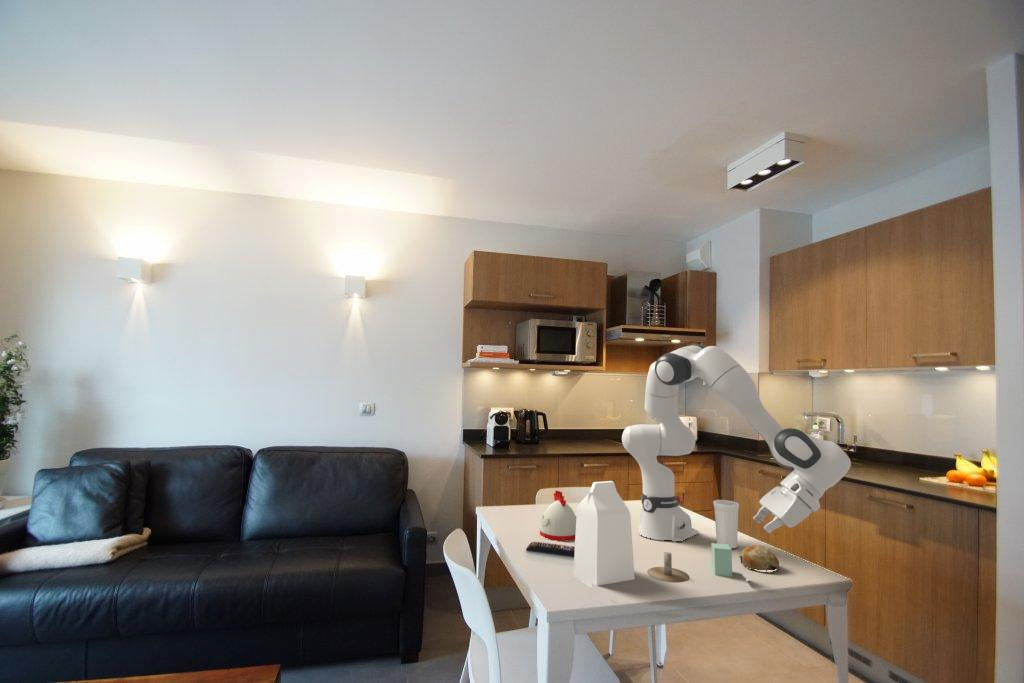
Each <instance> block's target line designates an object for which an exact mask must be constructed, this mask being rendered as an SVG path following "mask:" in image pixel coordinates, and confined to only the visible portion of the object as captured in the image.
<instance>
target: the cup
mask: <svg viewBox="0 0 1024 683" xmlns="http://www.w3.org/2000/svg"><path fill="white" fill-rule="evenodd" d="M712 503H713V507H714V521H715V522H714V524H715V535H716V536H715V537H716V544H728V545H729V547H730V548H731V549H735V548H738V538H739V537H738V531H739V530H738V529H739V509H740V504H739V502H737V501H733V500H728V499H727V500H726V499H715V500H713V501H712Z"/></svg>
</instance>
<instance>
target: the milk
mask: <svg viewBox="0 0 1024 683" xmlns="http://www.w3.org/2000/svg"><path fill="white" fill-rule="evenodd" d="M616 487H617V486H616V484H615V482H614V481H612V480H606V481H594V482H592V484H591V486H590V490H589V492H588V493H587V494H586V495H585V497H584V498H583V499H582V500H581V501H580V502H579V504H578V505H577V507H576V515H575V516H576V534H575V540H574V558H573V577H574V578H576V579H577V580H579V582H582V584H584V585H586V586H587V587H589V588H590V589H592V586H593V585H594V586H596V587H597V586H604V585H609V584H610V585H611V584H613V583H614V584H616V583H620V582H627V581H632V580H636V578H635V566H634V565H635V564H634V550H633V549H634V548H633V534H632V533H633V532H632V517H631V512H630V509H629V508H628V506H627V504H626V503H625V502H624V500H623V499H622V497H621V495H620V494H619V493H618V491H617V488H616Z"/></svg>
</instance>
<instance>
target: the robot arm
mask: <svg viewBox="0 0 1024 683" xmlns="http://www.w3.org/2000/svg"><path fill="white" fill-rule="evenodd" d="M648 368H649V369H648V373H647V377H646V382H645V390H644V391H645V392H644V406H643V408H644V410H645V413H646V414H647V415H648V416H649V417H650V418H652V419H654V420H657V421H658V422H659V424H658V423H657V424H645V423H643V424H641V423H640V424H633V425H627V426H626V427H625V429H624V430H623V432H622V435H621V442H622V447H624V450H626V452H627V453H629V455H631V456H632V457H633V458H634V459H635V461H636V462H637V463H638V465H639V468H640V471H641V472H640V473H641V482H642V492H641V497H640V499H641V507H640V515H639V524H638V525H637V529H639V530H638V531H637V532H638V533H637V534H639V535H640V536H641V535H642V537H644V538H646V537H647V538H648V539H650V538H651V539H650V540H654V541H655V540H656V541H664V540H672V541H671V542H676V541H682V542H684V541H686V540H685V539H687V538H689V539H691V538H693V537H695V536H694V535H696V534H698V535H699V534H700V533H699V531H698V530H697V529H696V528H694V527H692V524H693V523H692V519H691V516H690V515H689V514H688V513H687V512H686V511H684V510H683V509H682V508H681V506H679V502H680V503H681V502H683V500H684V497H683V496H682V495H679V494H677V495H676V494H675V492H676V491H675V490H676V489H675V484H676V482H675V474H674V472H673V470H671V469H670V468H669V467H668V466H666V465H663V464H662V463H660V462H659V461H658V459H657V458H658V456H667V457H668V456H669V457H675V456H676V457H677V456H678V457H680V456H685V455H690V454H691V453H692V452H693V451H694V449H695V447H696V437H695V433H694V432H693V431H692V429H690V427H688V426H687V425H686V424H684V422H683V421H682V420H681V418H680V416H679V411H678V410H679V408H678V400H679V398H678V397H679V386H680V385H681V384H684V383H687V382H690V381H691V382H692V380H694V379H696V378H700V379H701V380H703V381H704V382H705V383H706V384H707V386H708V387H709V388H710V389H711V390H712V391H713V393H715V394H716V395H717V396H718V397H719V398H721V400H723V401H724V402H725V403H726V404H728V405H729V406H730V407H732V409H734V410H735V411H736V412H737V413H738V414H740V415H741V416H742V417H744V419H745V420H746V421H747V422H748V424H750V425H751V426H752V428H753V429H755V431H756V432H757V433H758V434H759V436H761V438H763V440H764V441H765V442H766V444H767V446H768V449H769V452H770V455H771V457H772V459H773V461H774V462H775V463H776V464H777V465H778V466H780V467H782V468H784V469H787V470H792V472H790V473H789V474H788V475H787V476H786V477H784V478H783V480H781V481H780V482H779V483H780V484H779V486H775V487H774V488H772V489H771V490H770V491H768V492H767V493H765V495H763V496H762V497H761V499H760V500H759V502H758V503H759V504H760V505H761V507H760V508H759V509H758V511H757V513H756V514H755V515H754V516H753V517H752V519H753V520H754V521H755V522H756V523H757V524H761V523H762V522H764V519H765V518H766V516H769V515H770V514H771V515H773V520H771V521H770V522H766V523H765V524H764V525H763V526H762V528H763V529H764V530H765V531H766V532H767V533H768V534H771V533H772V532H773V531H774V530H776V529H778V528H781V527H782V526H783V525H785V526H787V527H788V528H789V529H790V528H794V527H796V526H797V525H798V524H800V523H801V522H803V521H804V520H805V519H806V518H807V517H808V516H810V514H811V513H812V512H817V511H819V509H820V508H821V504H820V501H819V500H820V499H821V498H822V497H823V496H824V494H825V492H826V491H827V490H829V488H832V487H834V486H835V485H836V484H837V483H838V482H840V481H841V480H842V479H843V477H845V475H847V473H848V472H849V470H850V468H851V467H852V463H851V462H852V460H851V458H850V457H849V454H848V453H847V452H846V451H845V449H843V447H841V446H840V445H839V444H838V443H836V442H835V441H833V440H825V439H820V438H817V437H814V436H812V435H810V434H808V433H806V432H804V431H802V430H800V429H796V428H792V427H791V428H790V427H789V428H784V427H783V426H781V424H780V423H779V422H778V421H777V419H776V418H774V417H773V416H772V414H771V413H769V412H768V410H767V409H766V408H765V406H764V404H763V403H762V401H761V399H760V395H759V393H758V389H757V386H756V383H755V382H754V380H753V378H752V377H751V375H750V374H749V373H748V372H747V371H746V369H745V368H744V367H743V366H742V365H741V364H740V363H739V362H738V361H737V360H735V358H733V357H732V356H731V354H728V353H727V352H726V351H724V350H723V349H722V348H720V347H718V346H715V345H708V346H705V344H704V345H703V344H691V345H687V346H682V347H680V348H677V349H675V350H672V351H670V352H667V353H665V354H663V355H661V356H660V357H658V358H657V360H656V361H654V362H652V363H651V364H650V365H649V367H648ZM692 536H693V537H692ZM696 536H697V535H696ZM690 537H691V538H690ZM683 540H684V541H683ZM687 540H688V539H687Z"/></svg>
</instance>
